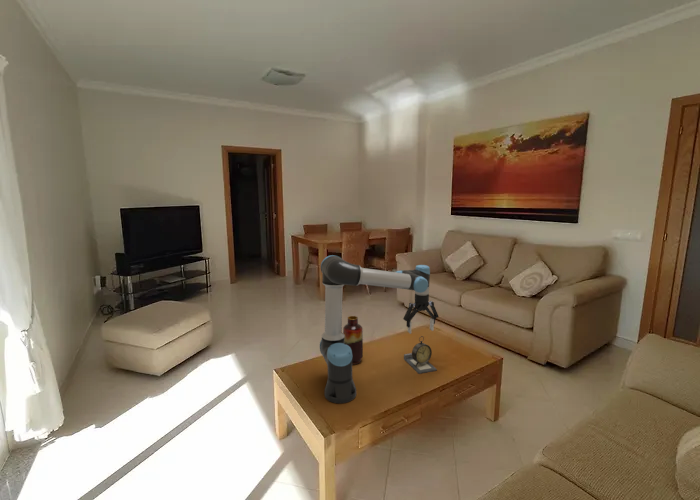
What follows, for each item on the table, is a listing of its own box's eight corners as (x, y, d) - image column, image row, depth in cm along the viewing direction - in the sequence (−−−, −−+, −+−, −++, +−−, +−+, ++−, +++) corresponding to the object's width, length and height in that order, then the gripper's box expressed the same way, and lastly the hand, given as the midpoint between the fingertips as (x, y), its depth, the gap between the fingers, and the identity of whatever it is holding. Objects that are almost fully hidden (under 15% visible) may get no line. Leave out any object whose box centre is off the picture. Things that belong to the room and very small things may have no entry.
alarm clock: (416, 368, 183) (416, 339, 181) (410, 363, 188) (410, 336, 185) (432, 363, 188) (432, 336, 185) (425, 359, 193) (426, 332, 190)
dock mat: (418, 374, 179) (418, 368, 178) (403, 359, 195) (403, 354, 195) (436, 370, 182) (437, 365, 182) (420, 356, 199) (420, 351, 198)
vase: (341, 364, 190) (340, 320, 186) (346, 355, 201) (345, 313, 197) (360, 366, 188) (360, 321, 184) (364, 357, 198) (364, 315, 194)
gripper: (404, 297, 175) (402, 336, 178) (445, 293, 182) (444, 331, 185) (397, 293, 182) (396, 331, 185) (438, 290, 189) (436, 326, 192)
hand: (420, 331), depth 185 cm, fingers open, 13 cm apart
